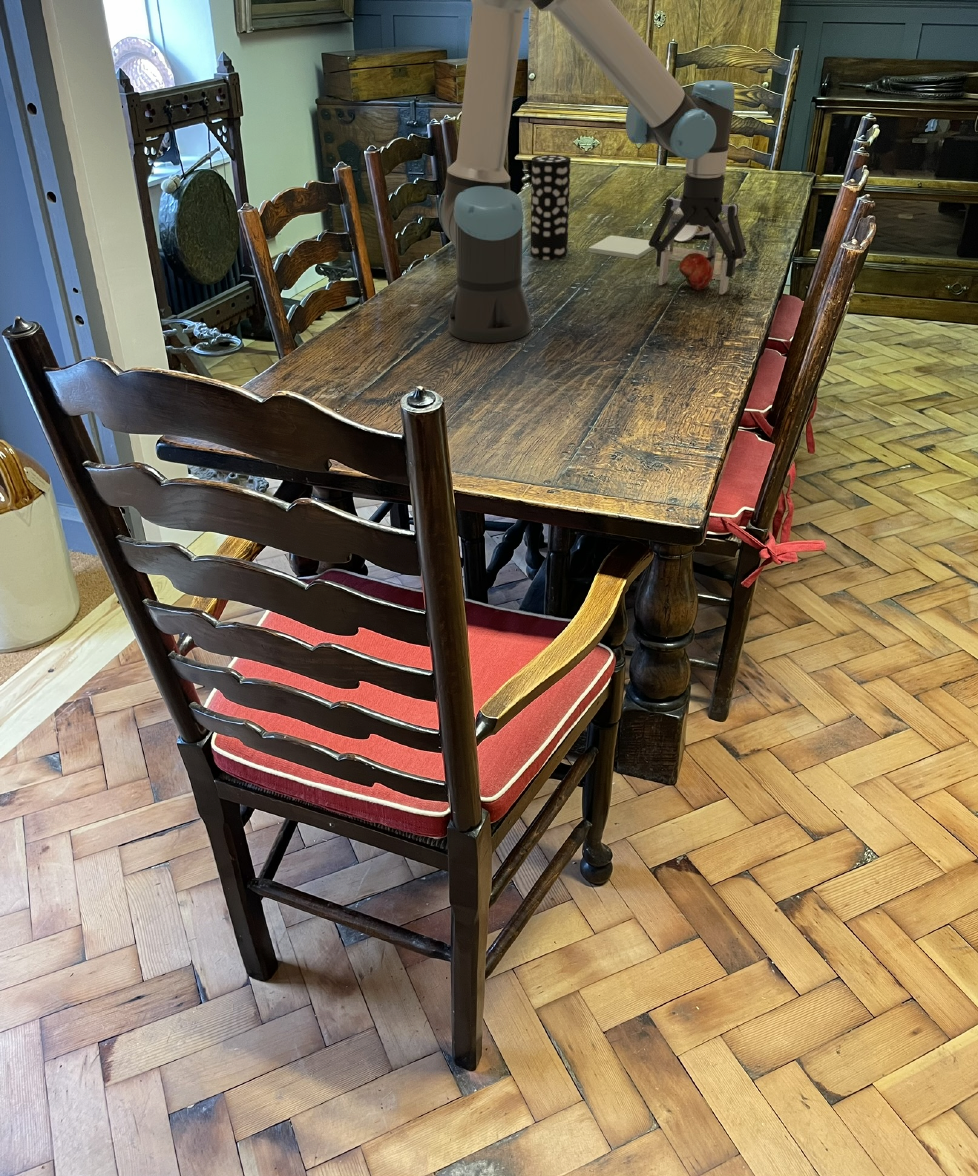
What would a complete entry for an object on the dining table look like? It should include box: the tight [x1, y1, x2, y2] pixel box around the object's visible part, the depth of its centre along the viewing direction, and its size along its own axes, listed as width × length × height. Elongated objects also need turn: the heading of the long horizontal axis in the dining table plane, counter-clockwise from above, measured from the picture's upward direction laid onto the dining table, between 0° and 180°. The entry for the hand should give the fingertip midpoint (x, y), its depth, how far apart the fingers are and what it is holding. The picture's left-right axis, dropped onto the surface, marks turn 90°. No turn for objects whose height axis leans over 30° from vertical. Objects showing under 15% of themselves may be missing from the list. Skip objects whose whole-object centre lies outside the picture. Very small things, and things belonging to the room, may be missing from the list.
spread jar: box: [674, 193, 721, 243], centre depth 217 cm, size 12×11×12 cm
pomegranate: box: [673, 253, 715, 291], centre depth 187 cm, size 7×7×10 cm
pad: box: [588, 234, 656, 260], centre depth 213 cm, size 12×12×1 cm
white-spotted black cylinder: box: [530, 154, 572, 261], centre depth 204 cm, size 8×8×20 cm
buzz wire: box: [655, 212, 743, 281], centre depth 200 cm, size 15×18×9 cm
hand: (692, 288), depth 189 cm, fingers open, 12 cm apart
